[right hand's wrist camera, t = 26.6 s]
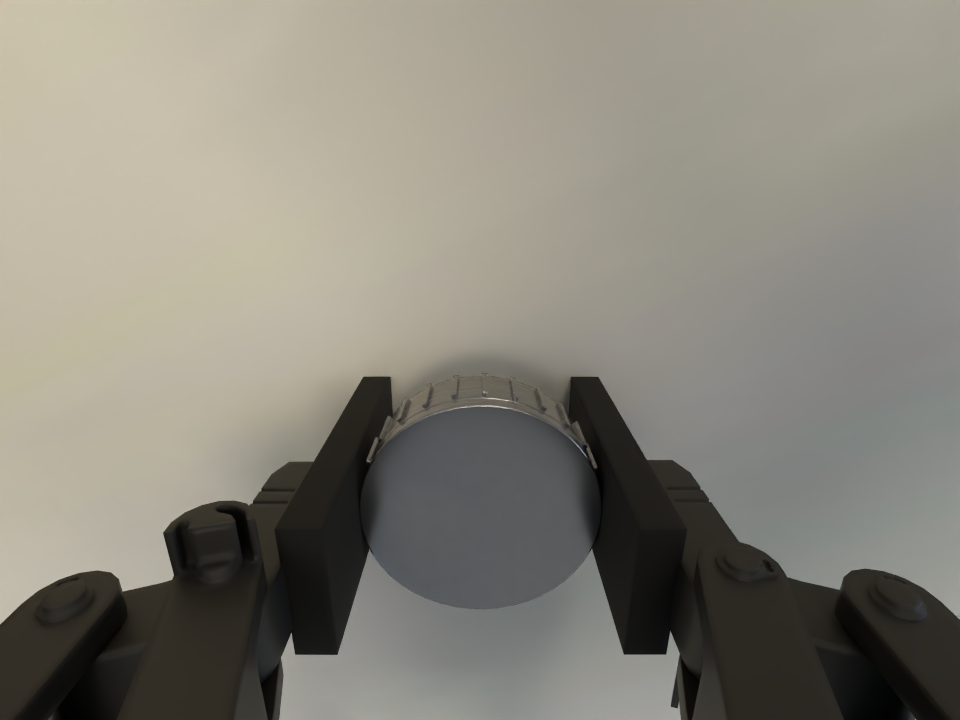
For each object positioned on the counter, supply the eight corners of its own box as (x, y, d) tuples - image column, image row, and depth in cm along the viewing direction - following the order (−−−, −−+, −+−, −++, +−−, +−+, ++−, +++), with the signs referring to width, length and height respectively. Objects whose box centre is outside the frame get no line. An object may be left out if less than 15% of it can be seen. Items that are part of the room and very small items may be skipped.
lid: (636, 470, 12) (658, 511, 11) (483, 596, 13) (484, 647, 12) (476, 324, 11) (475, 347, 9) (325, 478, 12) (303, 520, 11)
